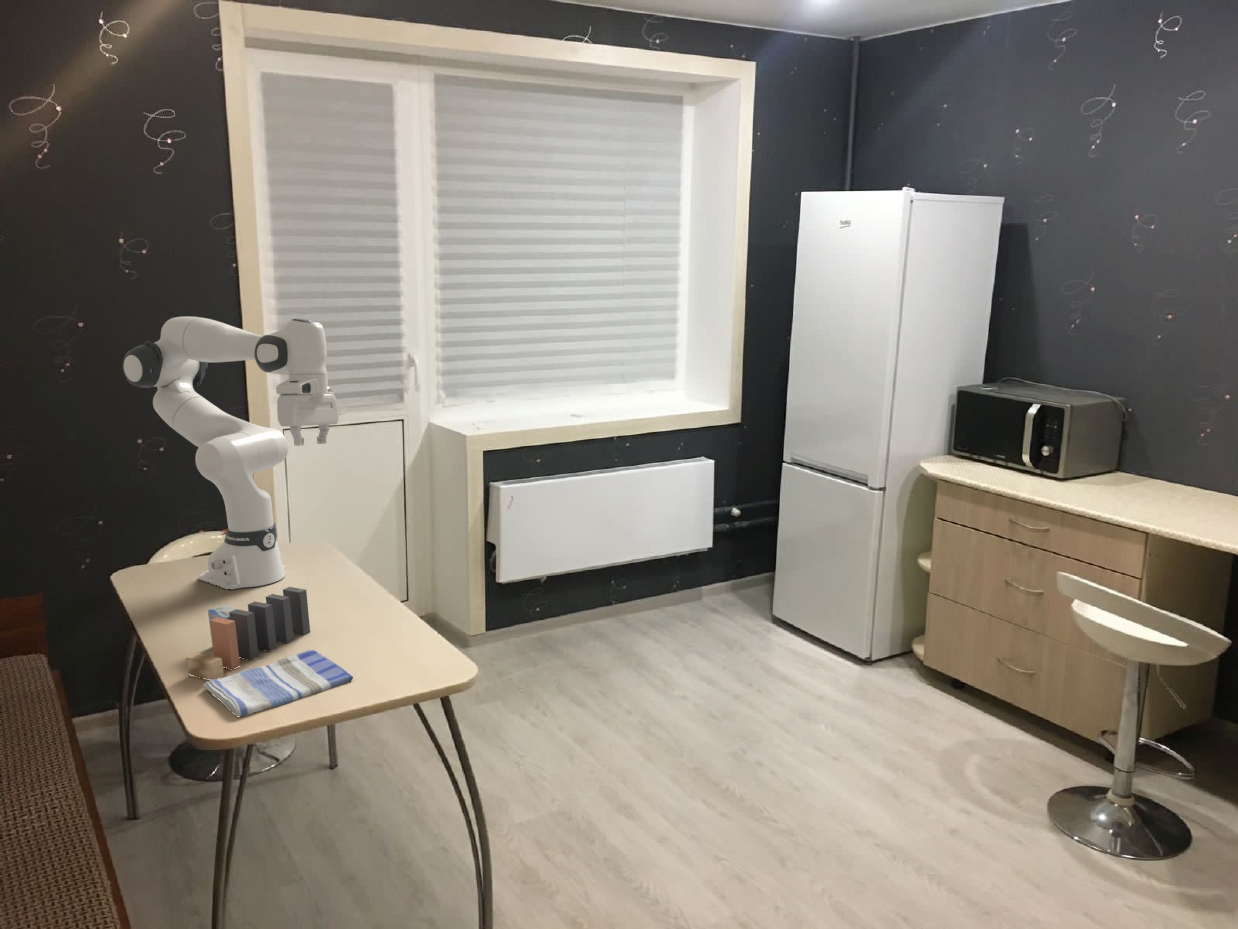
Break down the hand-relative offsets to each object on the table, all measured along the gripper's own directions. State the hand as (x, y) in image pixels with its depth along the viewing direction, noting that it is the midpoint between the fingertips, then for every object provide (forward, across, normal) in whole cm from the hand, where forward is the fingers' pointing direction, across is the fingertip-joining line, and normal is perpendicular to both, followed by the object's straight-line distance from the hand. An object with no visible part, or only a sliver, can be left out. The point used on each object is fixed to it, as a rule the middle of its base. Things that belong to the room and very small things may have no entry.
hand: (310, 444), depth 231 cm
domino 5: (+41, +17, +6) cm, 45 cm away
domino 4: (+42, +22, +6) cm, 48 cm away
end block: (+45, +42, +2) cm, 61 cm away
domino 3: (+43, +27, +4) cm, 51 cm away
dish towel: (+46, +42, +18) cm, 65 cm away
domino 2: (+43, +32, +4) cm, 54 cm away
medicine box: (+43, +28, -3) cm, 51 cm away
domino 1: (+44, +36, +3) cm, 57 cm away
